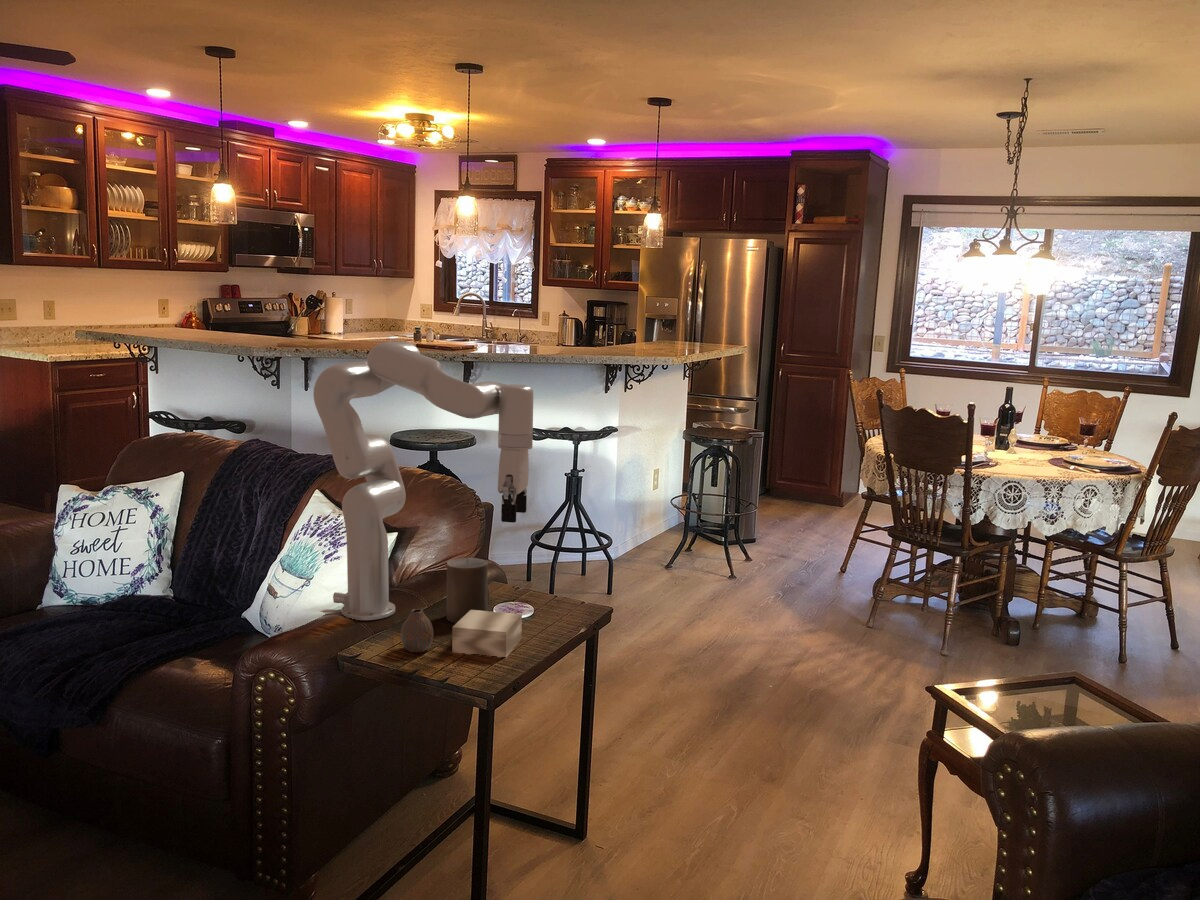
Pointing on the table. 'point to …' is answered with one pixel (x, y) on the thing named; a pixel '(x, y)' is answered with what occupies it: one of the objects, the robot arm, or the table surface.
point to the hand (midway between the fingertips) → (514, 516)
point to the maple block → (487, 633)
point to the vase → (417, 632)
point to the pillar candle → (466, 587)
